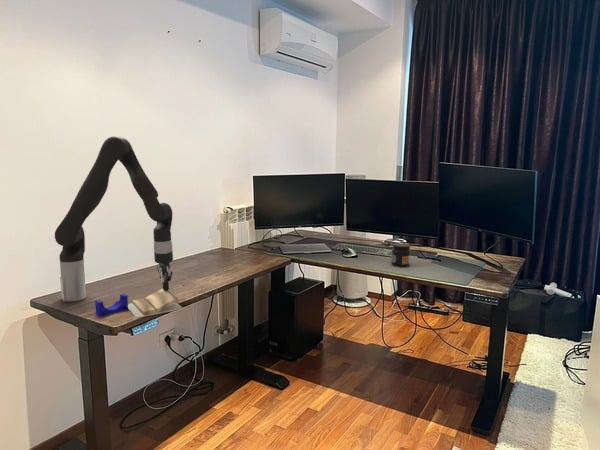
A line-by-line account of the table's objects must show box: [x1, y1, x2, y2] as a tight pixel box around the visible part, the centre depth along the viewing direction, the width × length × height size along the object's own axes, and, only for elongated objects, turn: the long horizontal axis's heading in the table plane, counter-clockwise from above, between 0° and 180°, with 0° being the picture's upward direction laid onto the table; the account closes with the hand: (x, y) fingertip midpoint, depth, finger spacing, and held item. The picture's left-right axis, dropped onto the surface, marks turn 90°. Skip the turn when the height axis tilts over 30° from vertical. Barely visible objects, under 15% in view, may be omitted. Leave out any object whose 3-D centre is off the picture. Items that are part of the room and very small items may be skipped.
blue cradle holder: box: [94, 293, 129, 318], centre depth 187 cm, size 12×4×6 cm, turn 140°
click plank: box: [144, 288, 179, 312], centre depth 195 cm, size 9×16×2 cm, turn 34°
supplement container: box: [391, 242, 412, 268], centre depth 267 cm, size 10×10×12 cm
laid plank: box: [131, 297, 157, 315], centre depth 191 cm, size 5×16×2 cm, turn 35°
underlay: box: [127, 302, 184, 319], centre depth 193 cm, size 19×17×1 cm
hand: (165, 289), depth 200 cm, fingers closed
